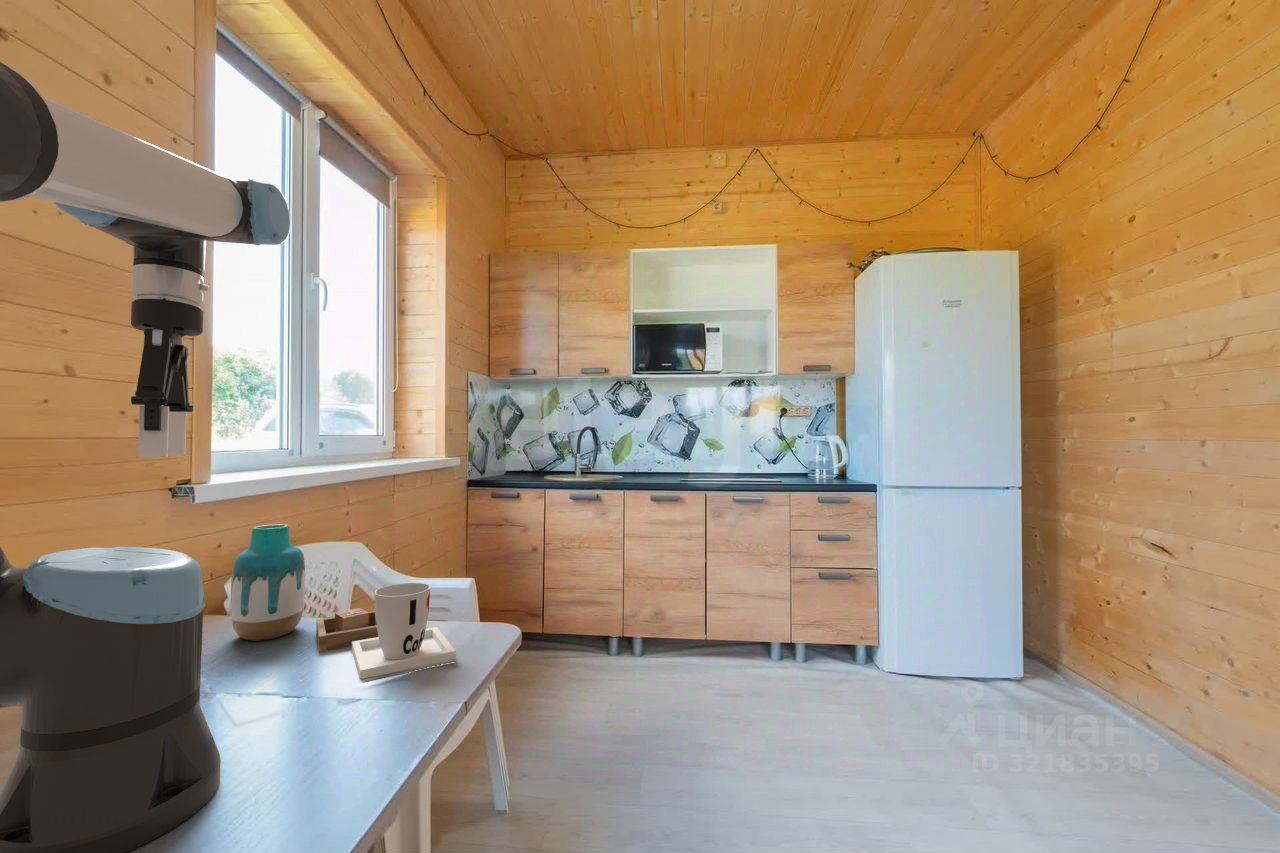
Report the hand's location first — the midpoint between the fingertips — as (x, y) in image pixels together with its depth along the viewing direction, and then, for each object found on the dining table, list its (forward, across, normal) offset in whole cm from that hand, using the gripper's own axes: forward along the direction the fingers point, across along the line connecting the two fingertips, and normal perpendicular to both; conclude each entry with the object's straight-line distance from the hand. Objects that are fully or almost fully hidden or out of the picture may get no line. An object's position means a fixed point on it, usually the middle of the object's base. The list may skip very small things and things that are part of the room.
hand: (163, 456), depth 74 cm
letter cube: (+31, +7, -24) cm, 40 cm away
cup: (+31, -6, -30) cm, 44 cm away
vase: (+32, +16, -12) cm, 38 cm away
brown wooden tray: (+32, +7, -24) cm, 40 cm away
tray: (+32, -6, -30) cm, 44 cm away
